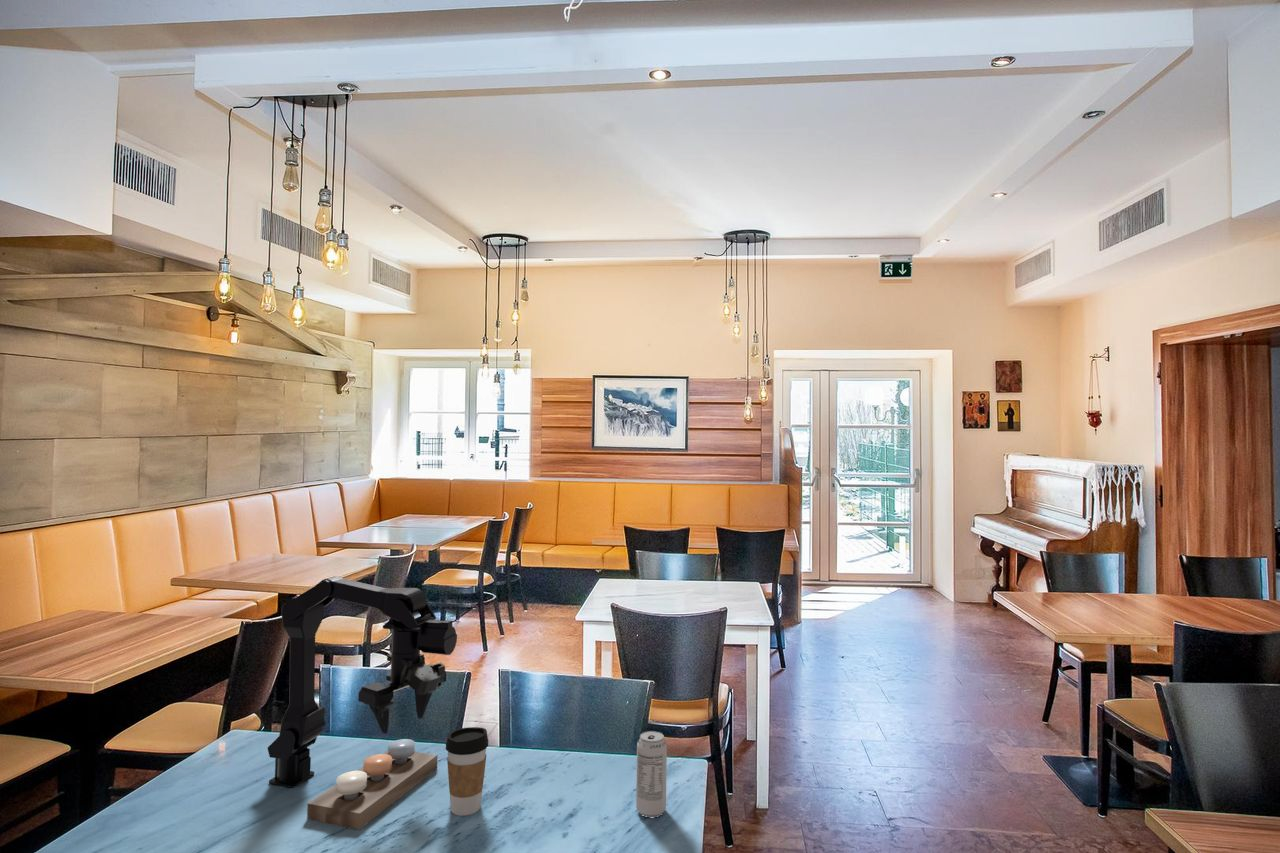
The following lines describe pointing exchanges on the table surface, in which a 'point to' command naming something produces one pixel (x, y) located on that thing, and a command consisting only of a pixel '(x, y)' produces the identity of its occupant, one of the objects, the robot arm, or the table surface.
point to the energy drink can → (651, 774)
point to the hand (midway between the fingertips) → (402, 725)
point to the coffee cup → (466, 768)
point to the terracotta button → (377, 766)
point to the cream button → (351, 784)
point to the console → (372, 794)
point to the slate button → (401, 750)
